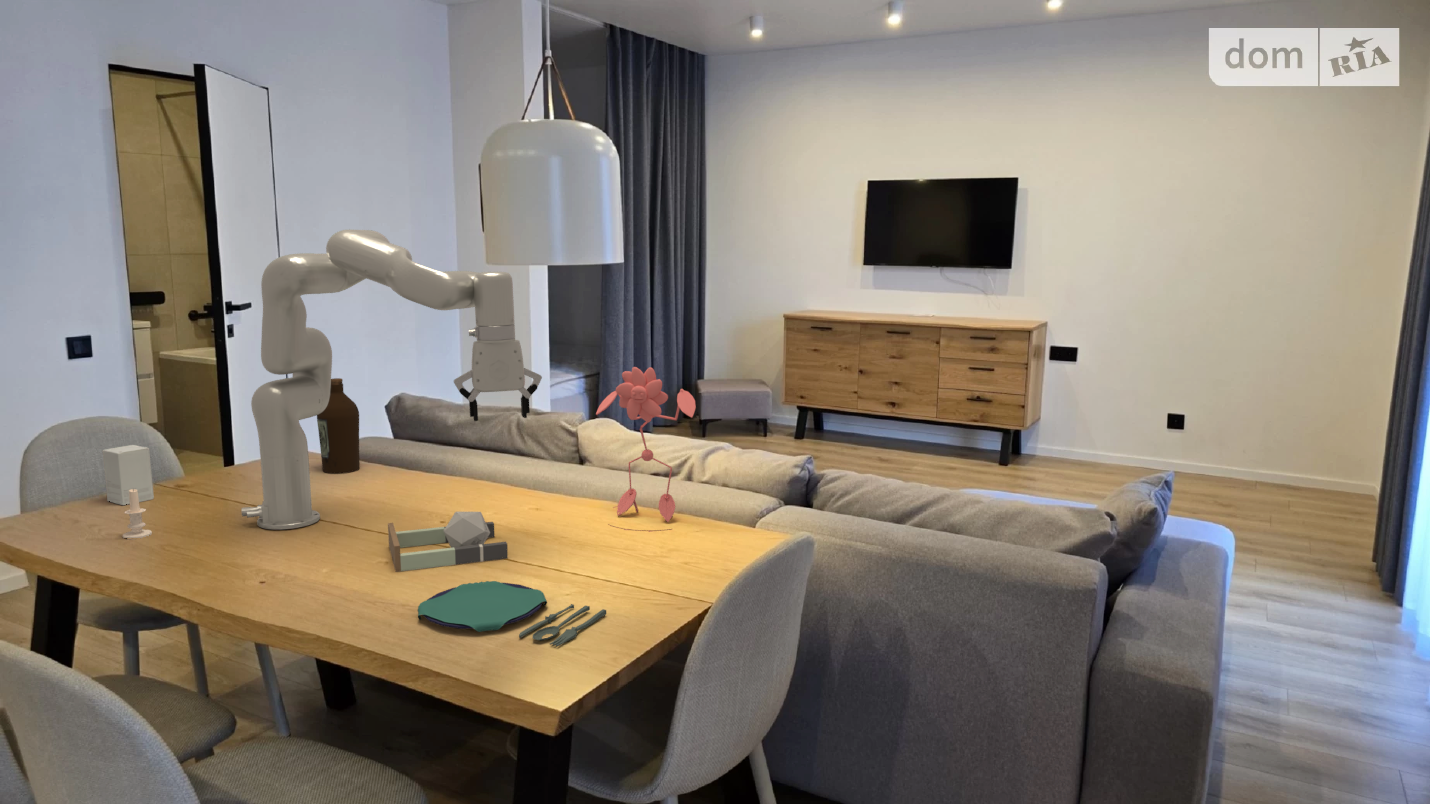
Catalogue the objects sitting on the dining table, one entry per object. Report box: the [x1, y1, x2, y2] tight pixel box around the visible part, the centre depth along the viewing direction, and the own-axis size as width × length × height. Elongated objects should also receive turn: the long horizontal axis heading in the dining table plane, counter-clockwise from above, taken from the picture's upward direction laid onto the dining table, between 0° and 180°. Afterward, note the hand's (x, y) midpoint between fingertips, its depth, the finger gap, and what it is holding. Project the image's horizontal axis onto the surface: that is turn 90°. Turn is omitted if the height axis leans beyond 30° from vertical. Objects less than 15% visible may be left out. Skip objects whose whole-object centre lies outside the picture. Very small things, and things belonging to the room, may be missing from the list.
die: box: [443, 511, 490, 548], centre depth 187 cm, size 8×9×10 cm
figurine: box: [595, 366, 697, 533], centre depth 205 cm, size 15×26×35 cm, turn 65°
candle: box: [122, 489, 153, 539], centre depth 194 cm, size 5×5×10 cm
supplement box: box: [101, 444, 155, 506], centre depth 220 cm, size 7×7×13 cm
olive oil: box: [316, 377, 361, 474], centre depth 251 cm, size 11×11×25 cm
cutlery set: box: [417, 580, 607, 647], centre depth 154 cm, size 20×30×2 cm, turn 63°
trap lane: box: [387, 521, 509, 573], centre depth 186 cm, size 21×16×5 cm
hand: (500, 418), depth 188 cm, fingers open, 9 cm apart
